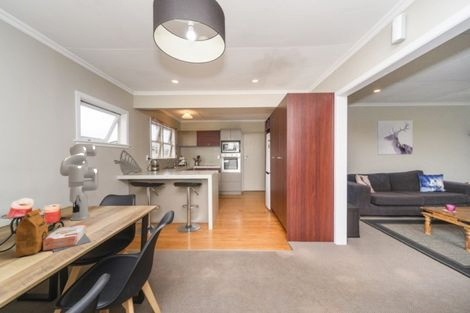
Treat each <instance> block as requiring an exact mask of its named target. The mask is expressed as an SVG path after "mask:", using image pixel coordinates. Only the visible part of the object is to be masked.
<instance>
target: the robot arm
mask: <svg viewBox="0 0 470 313" xmlns="http://www.w3.org/2000/svg"><path fill="white" fill-rule="evenodd" d="M97 153H98V150H97V146H96V144H92V143H76V144H74V145H73V146H71V147H70V148H69V154H70V156H69V155H68V157H66V158H64V159H63V160H62V161H61V163H60V168H59V173H60V175H61V176H62V177H63V176H64V177H68V188H69V198H68V199H69V202H70V203H71V204H72V217H70V218H69V220H70V221H81V220H82V221H83V220H86V219H88V218H90V217H91V214H89V196H88V194H87V193H86V192H93V191H97V190H99V169H98V167H96V166H88V160H87V157H95V156H97Z"/></svg>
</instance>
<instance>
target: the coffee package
mask: <svg viewBox="0 0 470 313" xmlns="http://www.w3.org/2000/svg"><path fill="white" fill-rule="evenodd" d="M42 211H43V210H42V209H41V208H36V209H35V210H32V211H29V212H27V213H26V214H25V215H24V216H23V217H22V219H21V220H20V221H19V223H18V224H17V226H16V231H15V244H14V245H15V258H20V257H24V256H28V255H29V256H30V255H33V254H37V253H39V251H41V250H43V240H44V239H46V238H47V237H48V236H49V234H48V232H49V226H48V222H46V220H45V219H44V218H43V217H42V215H41V213H42Z"/></svg>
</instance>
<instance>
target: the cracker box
mask: <svg viewBox="0 0 470 313" xmlns="http://www.w3.org/2000/svg"><path fill="white" fill-rule="evenodd" d="M86 232H87V223H80V224H75V225H68V226H67V225H66V226H60V227H58V228H57V229H55V230H54V231H53V232H51V234H48V237H47V238H46V239H44V240H43V248H42V251H48V250H52V249H55V248H61V247H67V246H72V245H76V244H77V242H78V241H79V240H80V239H81V237H82V236H83V235H84V234H85V235H86Z"/></svg>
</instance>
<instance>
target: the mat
mask: <svg viewBox="0 0 470 313" xmlns="http://www.w3.org/2000/svg"><path fill="white" fill-rule="evenodd" d="M88 243H92V241H91V239H90V238H89V236H88V235H87V234H86V233H85V234H84V235H83V236H82V237H81V239H80V240H79V241H78V242H77V244H76V245H72V246H67V247H61V248H55V249H51V250H52V251H53V253H58V252H60V251H64V250H68V249H70V248H74V247H77V246H81V245H85V244H88Z"/></svg>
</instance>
